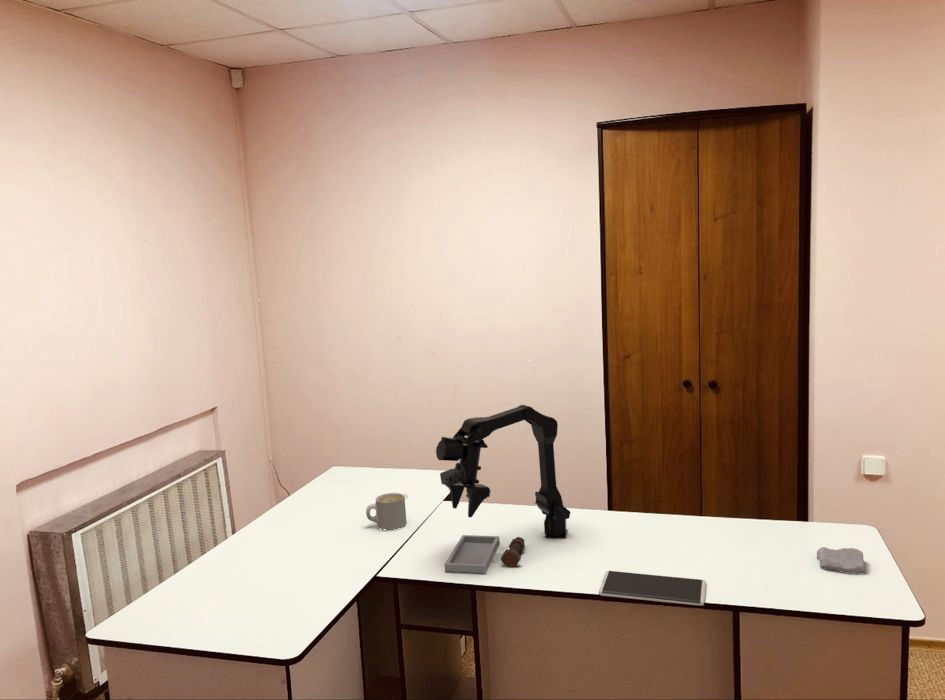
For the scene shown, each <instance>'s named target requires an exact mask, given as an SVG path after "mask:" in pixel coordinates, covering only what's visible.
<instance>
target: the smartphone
mask: <svg viewBox="0 0 945 700" xmlns="http://www.w3.org/2000/svg"><path fill="white" fill-rule="evenodd" d="M706 587H707V581H706V580H705V579H696V578H688V577H687V578H686V577H677V576H666V575H656V574H647V573H636V572H635V573H634V572H625V571H616V570H615V571H614V570H606V571H605V573H604V576H603V579H602V581H601V583H600V587H599V590H598V595H600V596H602V597H613V598H622V599H633V600H643V601H652V602H661V603H673V604H682V605H691V606H704V605H705V604H704V603H706V602H705V601H706V591H705V590H707V588H706Z"/></svg>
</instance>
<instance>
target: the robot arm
mask: <svg viewBox="0 0 945 700" xmlns="http://www.w3.org/2000/svg"><path fill="white" fill-rule="evenodd" d="M523 421H525V422H526V423H527V424H529V425H531V430H532V433H533V436H534V438H535V440H536V443H537V448H538V449H537V450H538V461H539V463H538V464H539V475H540V488H539V490H538V491H534V495H535V504H536V505H537V508H538V509H539V510H540V511H541V513H542V514H543V515H545V518H544V521H543V527H544V528H543V529H544V534H545V538H547V539H549V538H551V539H553V538H554V539H566V537H567V536H568V535H567V534H568V528H567V519H570V517H571V511H570V510H569V509H567V508H566V507H565V506H564V503H563V498H562V494H561V493H560V490H559V488H558V487H557V477H556V463H555V462H556V461H555V460H556V459H555V447H554V446H555V445H554V443H555V441H556V439H557V436H558V425H559V424H558V420H556V419H555V418H554V417H551V416H550V415H549V416H548V415H544V414H543V413H541V412H540V411H537V410H536V409H534V408H533V407H532V406H529V405H526V404H520V405H518V406H517V407H514V408H511V409H508V410H505V411H501V412H499V413H496V414H493V415H490V416H480V417H479V416H477V417H471V418H467V419H465V420H464V421H463V423H462V425H461V427H460V428H459V429H458V431H456V432H455V434H454V435H453V437H448V436H447V437H446V436H442V437H441V440H440V441H439V442H438V444H437V446H436V449H435V453H436V458H437V460H439V461H446V462H447V461H449V462H451V461H452V462H456V463H455V466H454V468H450V469H448V470H445V471H442V472H440V473H439V476H440V481H441V485H444V486H445V487H446V488H448V490H449V494H450V498H451V505H452V506H451V507H452V509H455V510H456V509H458V506H459V504H460V500H461V498H462V495H463V494H464V493H463V492H464V490H465V489H466V491H465V492H466V494H465V496H466V498H467V500H468V506H467V507H468V509H467V517H468V518H472V517H473V516H474V514H475V513H476V511H477V510H478V509H479V507H480V505H481V504H482V503H483V502H484V501H485V499H487V498H490V496H491V491H492V490H491V488H490V487H489V486H487V485H484V484H482V483H481V484H480V480H479V479H478V471H481V470H482V467H481V465H479V464H480V457H481V451H482V450H481V449H482V448H483V449H487V448H488V447H489V446H488V444H487V443H486V442H485V440H484V439H486V438H487V437H489V436H491V435H492V433H494V432H495V431H496V430H500V429H502V428H506V427H508V426H511V425H514V424H516V423H520V422H523ZM458 461H459V462H458Z"/></svg>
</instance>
